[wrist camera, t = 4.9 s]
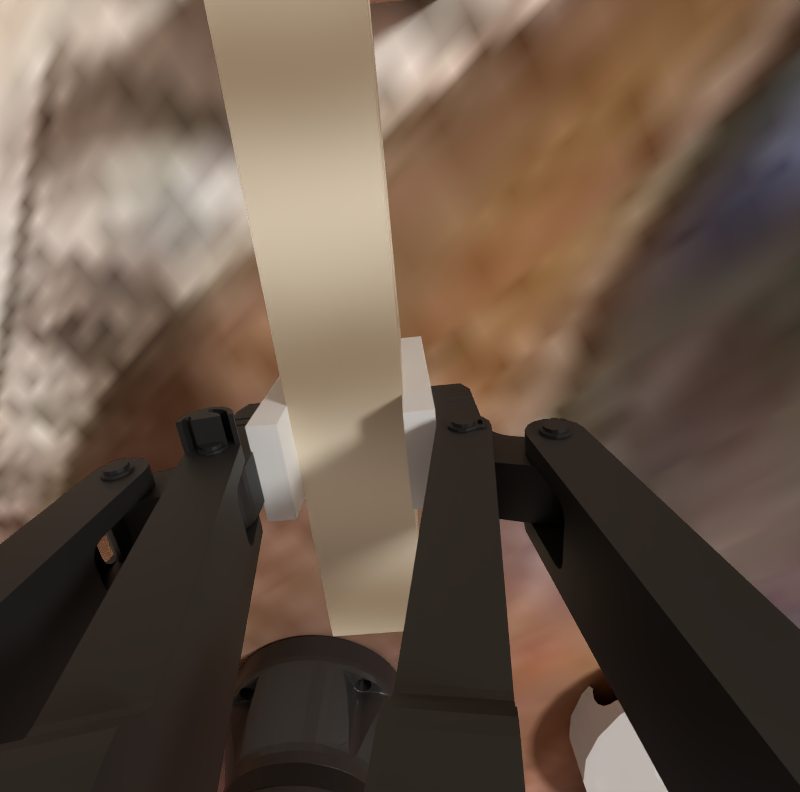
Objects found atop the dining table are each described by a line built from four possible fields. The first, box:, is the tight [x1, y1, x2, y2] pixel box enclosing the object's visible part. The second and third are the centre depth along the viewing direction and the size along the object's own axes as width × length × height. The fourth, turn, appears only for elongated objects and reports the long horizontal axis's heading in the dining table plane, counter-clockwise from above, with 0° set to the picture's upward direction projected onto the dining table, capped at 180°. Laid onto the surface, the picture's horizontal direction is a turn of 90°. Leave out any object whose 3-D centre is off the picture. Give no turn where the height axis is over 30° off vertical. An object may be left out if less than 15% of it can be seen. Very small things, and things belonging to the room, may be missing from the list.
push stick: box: [204, 0, 419, 636], centre depth 14 cm, size 18×3×6 cm, turn 5°
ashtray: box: [569, 686, 668, 792], centre depth 42 cm, size 23×23×4 cm
